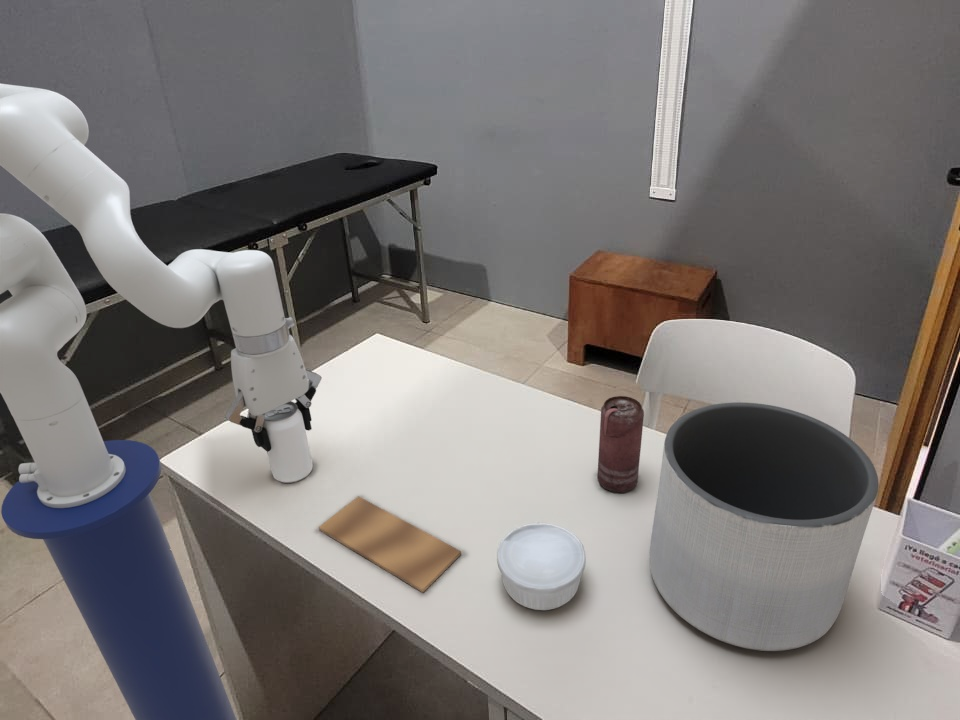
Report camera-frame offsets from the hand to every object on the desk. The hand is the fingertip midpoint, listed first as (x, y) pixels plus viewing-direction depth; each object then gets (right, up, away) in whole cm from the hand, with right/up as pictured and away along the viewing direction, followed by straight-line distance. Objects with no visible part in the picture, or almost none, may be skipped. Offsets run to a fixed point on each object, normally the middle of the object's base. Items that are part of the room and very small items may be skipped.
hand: (285, 436), depth 102 cm
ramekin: (+39, -17, -19) cm, 46 cm away
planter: (+64, -16, -20) cm, 69 cm away
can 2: (+52, -7, -2) cm, 52 cm away
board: (+18, -14, -11) cm, 25 cm away
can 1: (0, -6, +4) cm, 7 cm away
